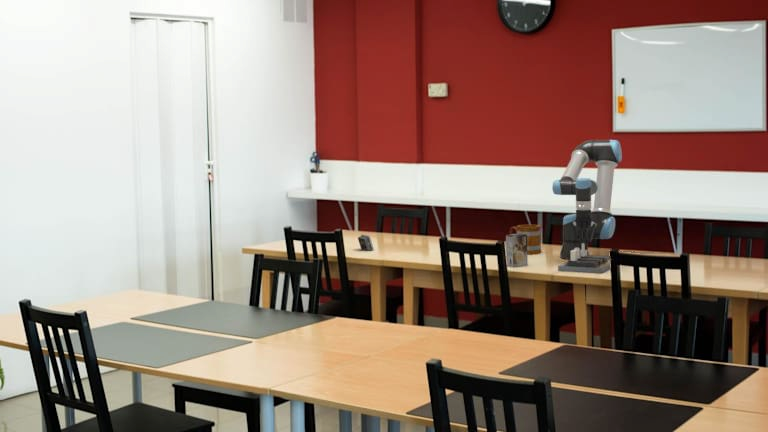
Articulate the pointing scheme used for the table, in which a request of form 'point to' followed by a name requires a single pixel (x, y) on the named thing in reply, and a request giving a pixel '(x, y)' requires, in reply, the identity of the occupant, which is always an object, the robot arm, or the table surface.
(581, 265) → the panel
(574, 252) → the breaker near
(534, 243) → the mug
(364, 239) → the electrical switch
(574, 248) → the block
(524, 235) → the coffee box
